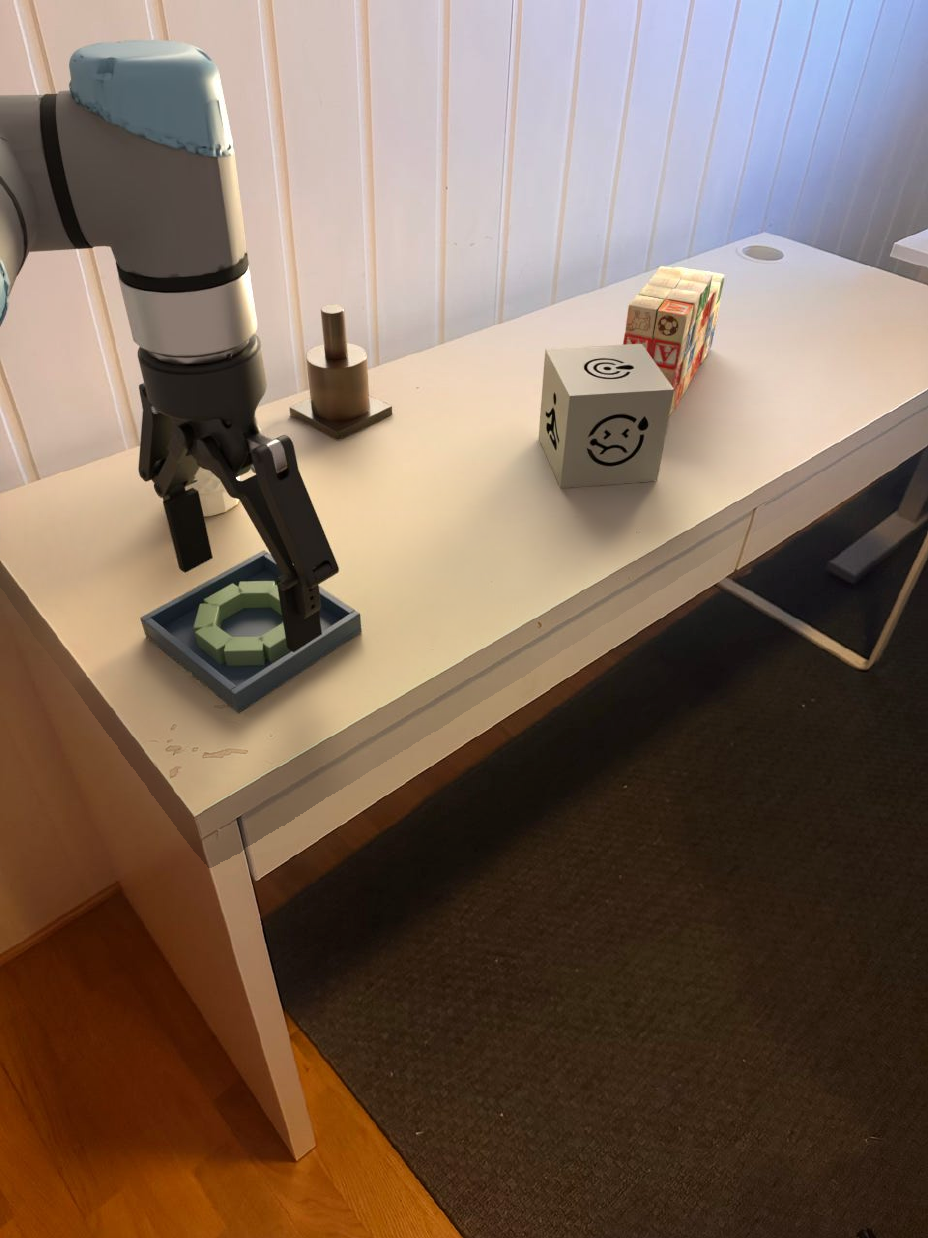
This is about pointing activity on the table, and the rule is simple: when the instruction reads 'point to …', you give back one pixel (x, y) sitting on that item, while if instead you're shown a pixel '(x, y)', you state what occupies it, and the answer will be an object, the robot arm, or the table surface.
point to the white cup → (211, 493)
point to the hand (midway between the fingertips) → (247, 600)
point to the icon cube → (603, 415)
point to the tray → (245, 635)
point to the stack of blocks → (676, 322)
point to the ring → (240, 648)
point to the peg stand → (338, 383)
